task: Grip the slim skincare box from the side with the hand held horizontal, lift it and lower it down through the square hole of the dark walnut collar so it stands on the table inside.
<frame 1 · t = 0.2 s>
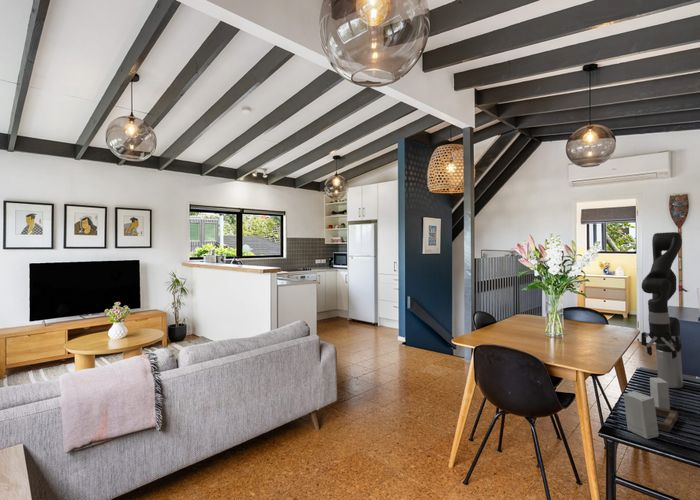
hand: (661, 356, 175), 18 cm above the table, tool pointing down, fingers open, 8 cm apart
skincare box 2: (642, 433, 147), on the table
walnut collar: (651, 419, 156), on the table
skincare box: (660, 407, 165), on the table
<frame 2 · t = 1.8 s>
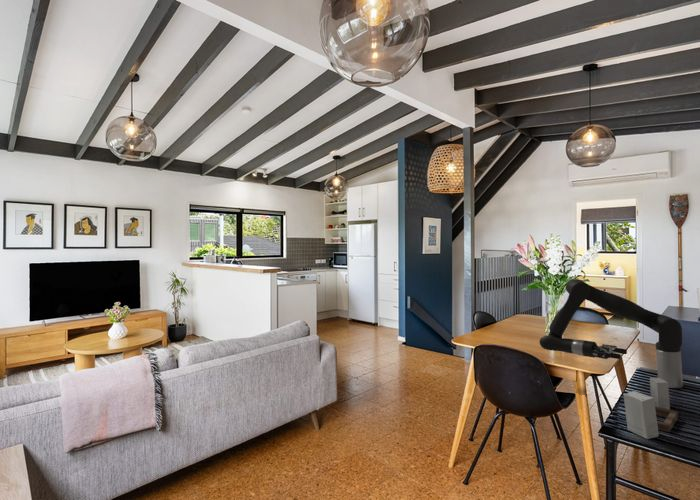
hand: (623, 354, 173), 21 cm above the table, tool horizontal, fingers open, 8 cm apart
nothing on the table moved.
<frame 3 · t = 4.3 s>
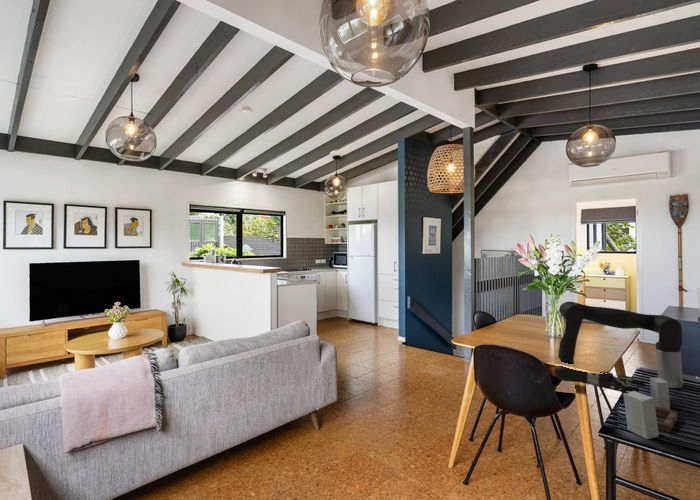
hand: (641, 387, 169), 7 cm above the table, tool horizontal, fingers open, 8 cm apart
nothing on the table moved.
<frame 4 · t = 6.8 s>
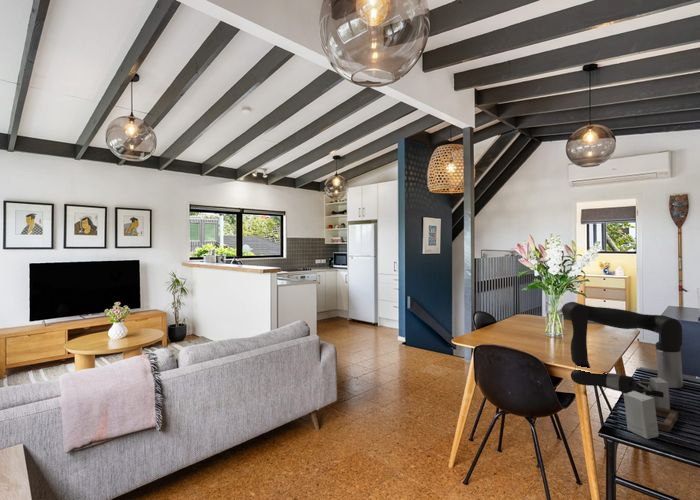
hand: (665, 391, 163), 7 cm above the table, tool horizontal, fingers closed on skincare box, 7 cm apart
skincare box: (660, 407, 165), on the table, touching gripper
everything else where it was.
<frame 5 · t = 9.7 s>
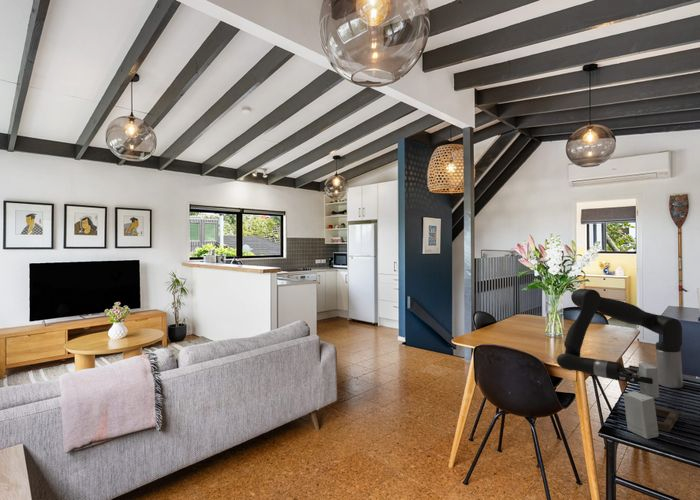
hand: (655, 378, 154), 18 cm above the table, tool horizontal, fingers closed on skincare box, 7 cm apart
skincare box: (649, 395, 156), point 10 cm above the table, touching gripper
everything else where it was.
when the fingers open (8 cm above the table, at t = 12.8 s): skincare box drops 1 cm, resting in walnut collar.
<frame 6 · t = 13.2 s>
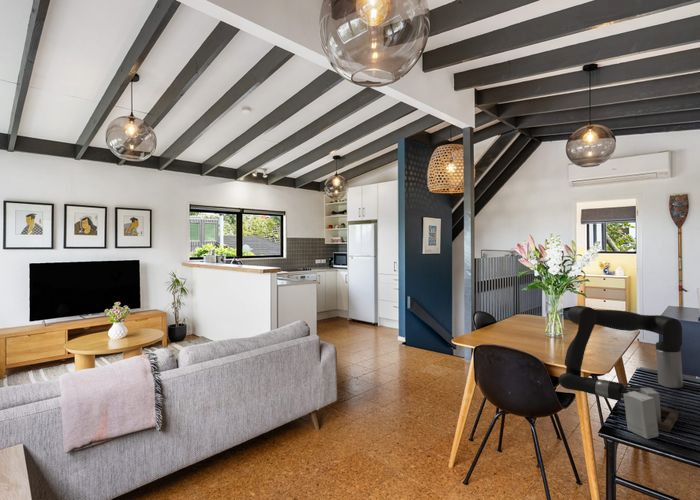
hand: (656, 399, 154), 9 cm above the table, tool horizontal, fingers open, 8 cm apart
skincare box: (651, 419, 156), resting in walnut collar
everything else where it was.
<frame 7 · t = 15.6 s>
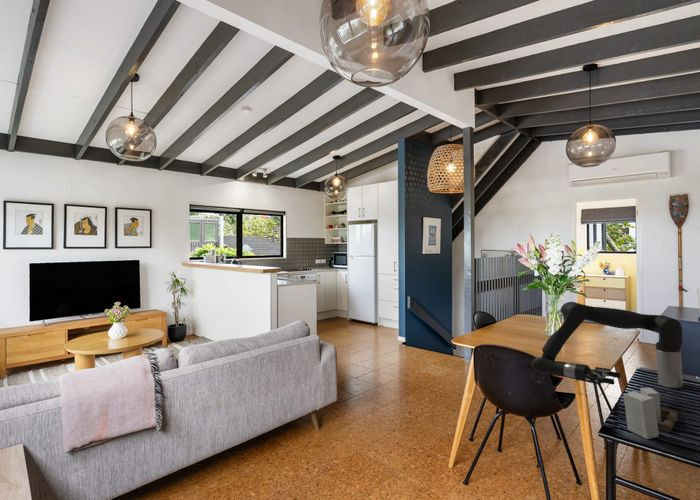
hand: (617, 378, 167), 13 cm above the table, tool horizontal, fingers open, 8 cm apart
nothing on the table moved.
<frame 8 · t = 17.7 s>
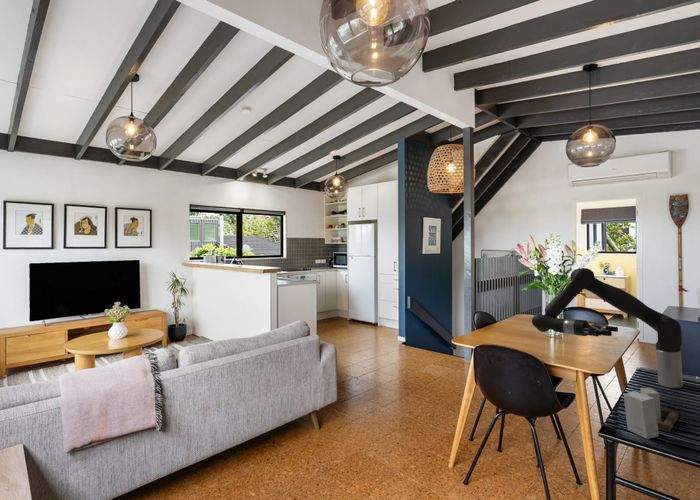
hand: (614, 331, 173), 32 cm above the table, tool horizontal, fingers open, 8 cm apart
nothing on the table moved.
at the end: skincare box 0.2 cm off-centre on the walnut collar, point 0.0 cm above the walnut collar's base; skincare box tilted 0°; the gripper is holding nothing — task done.
